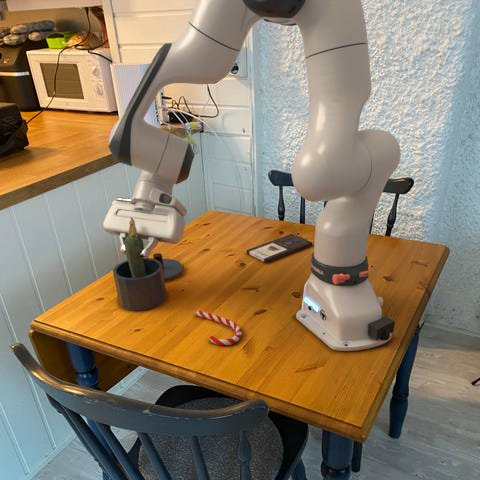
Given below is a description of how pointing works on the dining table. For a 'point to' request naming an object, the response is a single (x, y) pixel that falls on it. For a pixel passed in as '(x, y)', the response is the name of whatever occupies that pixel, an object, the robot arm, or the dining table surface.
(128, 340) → the dining table surface
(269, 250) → the chocolate bar
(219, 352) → the dining table surface
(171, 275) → the lid
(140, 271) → the vegetable
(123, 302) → the dark grey pot
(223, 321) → the candy cane
